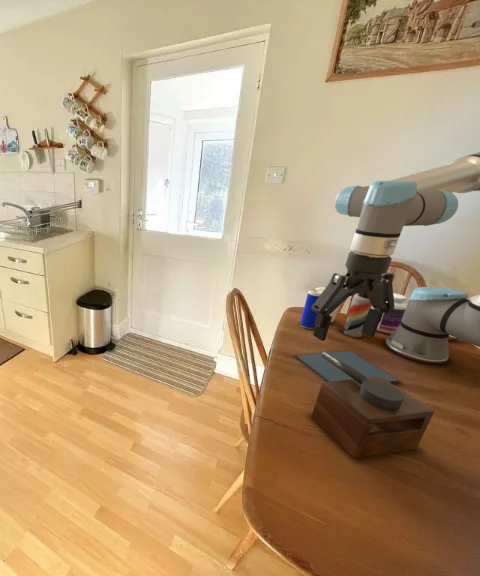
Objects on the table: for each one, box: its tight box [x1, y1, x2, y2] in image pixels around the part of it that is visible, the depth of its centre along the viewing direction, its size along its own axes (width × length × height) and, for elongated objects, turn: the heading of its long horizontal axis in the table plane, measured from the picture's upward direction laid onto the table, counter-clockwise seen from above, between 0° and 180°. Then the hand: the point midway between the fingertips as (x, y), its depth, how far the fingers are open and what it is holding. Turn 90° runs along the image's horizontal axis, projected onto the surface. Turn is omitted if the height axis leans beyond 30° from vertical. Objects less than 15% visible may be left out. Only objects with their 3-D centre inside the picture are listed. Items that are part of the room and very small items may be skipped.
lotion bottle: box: [342, 292, 373, 338], centre depth 115 cm, size 6×6×20 cm
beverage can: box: [299, 288, 323, 330], centre depth 122 cm, size 5×5×15 cm
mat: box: [296, 350, 399, 384], centre depth 98 cm, size 20×16×1 cm
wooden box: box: [310, 376, 436, 459], centre depth 73 cm, size 16×12×11 cm
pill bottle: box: [376, 292, 408, 335], centre depth 119 cm, size 8×8×14 cm
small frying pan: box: [320, 350, 404, 410], centre depth 75 cm, size 7×20×3 cm, turn 8°
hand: (343, 336), depth 78 cm, fingers open, 13 cm apart
